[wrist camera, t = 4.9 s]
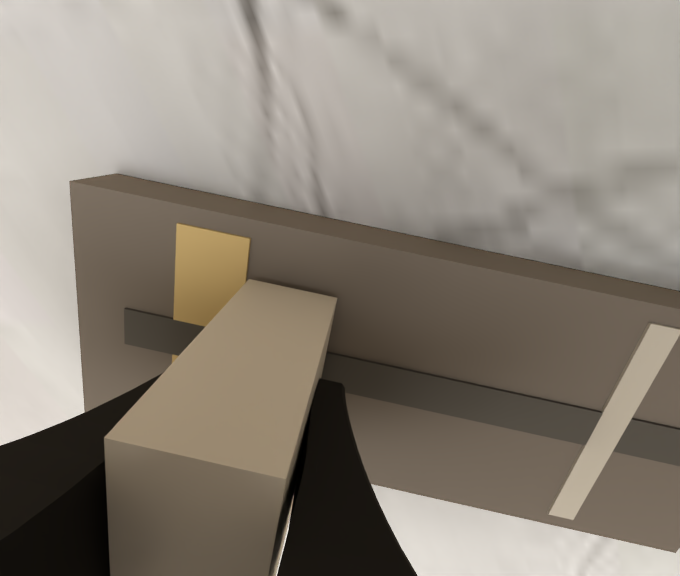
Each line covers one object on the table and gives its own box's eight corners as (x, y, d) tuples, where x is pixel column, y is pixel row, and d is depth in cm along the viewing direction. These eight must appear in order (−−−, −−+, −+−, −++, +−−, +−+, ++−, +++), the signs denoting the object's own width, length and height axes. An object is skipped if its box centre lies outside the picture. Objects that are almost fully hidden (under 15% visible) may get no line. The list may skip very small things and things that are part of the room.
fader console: (763, 308, 12) (836, 343, 10) (639, 500, 15) (677, 555, 13) (115, 173, 13) (66, 181, 11) (120, 384, 16) (83, 421, 14)
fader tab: (337, 297, 11) (285, 479, 5) (308, 442, 13) (247, 690, 7) (249, 278, 11) (104, 437, 5) (232, 425, 13) (114, 658, 7)
